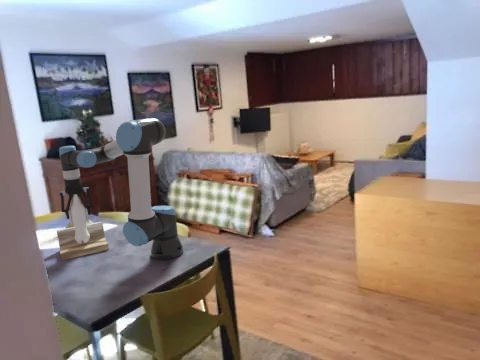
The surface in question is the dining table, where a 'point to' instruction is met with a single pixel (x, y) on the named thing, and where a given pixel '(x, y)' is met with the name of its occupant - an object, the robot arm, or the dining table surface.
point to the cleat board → (74, 249)
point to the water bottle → (79, 220)
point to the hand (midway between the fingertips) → (79, 222)
